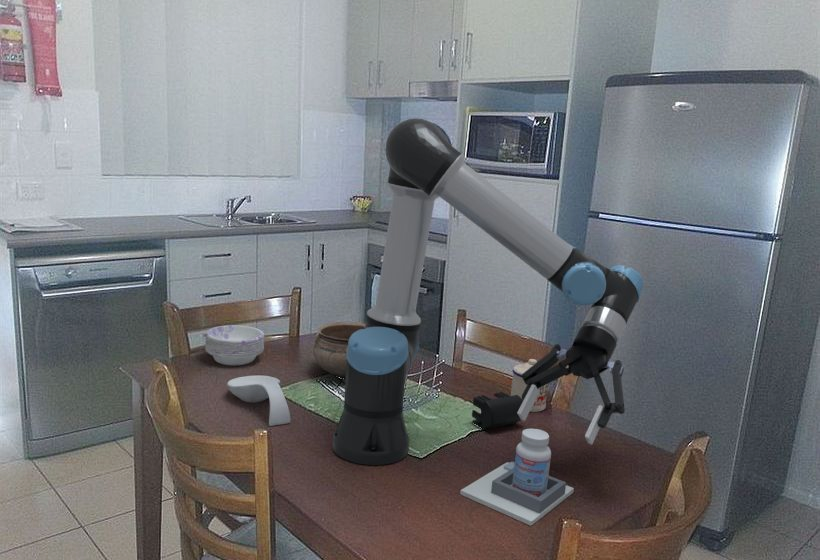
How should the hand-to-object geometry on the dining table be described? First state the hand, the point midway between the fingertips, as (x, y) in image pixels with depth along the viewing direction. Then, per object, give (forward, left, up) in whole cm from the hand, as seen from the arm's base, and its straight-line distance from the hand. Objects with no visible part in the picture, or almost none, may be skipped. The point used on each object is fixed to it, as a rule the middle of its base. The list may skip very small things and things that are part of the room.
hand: (553, 428), depth 121 cm
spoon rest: (-63, -15, -12) cm, 66 cm away
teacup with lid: (-22, +35, -11) cm, 43 cm away
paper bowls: (-93, 0, -11) cm, 94 cm away
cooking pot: (-65, +15, -11) cm, 68 cm away
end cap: (-21, +17, -11) cm, 30 cm away
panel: (-2, -7, -11) cm, 13 cm away
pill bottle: (0, -7, -10) cm, 12 cm away
